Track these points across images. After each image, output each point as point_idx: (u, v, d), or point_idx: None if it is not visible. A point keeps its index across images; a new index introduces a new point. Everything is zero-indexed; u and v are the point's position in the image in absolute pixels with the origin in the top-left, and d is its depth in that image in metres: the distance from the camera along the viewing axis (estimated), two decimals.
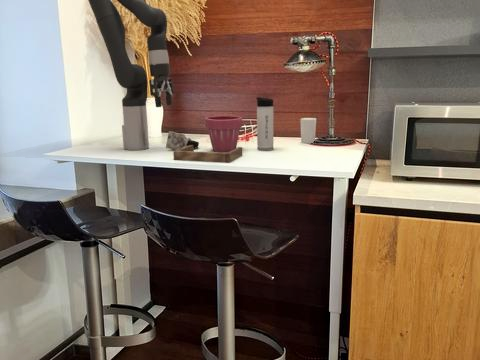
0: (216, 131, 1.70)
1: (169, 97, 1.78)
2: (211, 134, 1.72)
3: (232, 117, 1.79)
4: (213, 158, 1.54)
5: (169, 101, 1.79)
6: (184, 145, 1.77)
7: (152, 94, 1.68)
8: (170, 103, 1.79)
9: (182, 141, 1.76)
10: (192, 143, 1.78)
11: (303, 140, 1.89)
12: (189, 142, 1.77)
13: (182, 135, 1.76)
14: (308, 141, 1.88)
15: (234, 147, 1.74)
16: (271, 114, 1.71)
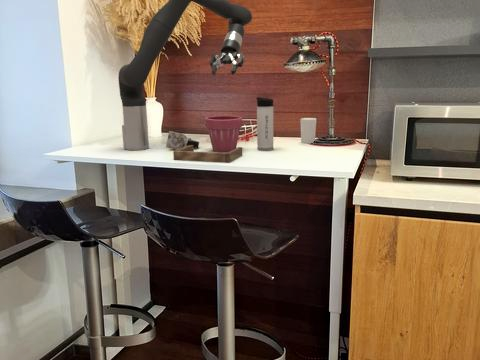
0: (216, 131, 1.70)
1: (216, 69, 1.89)
2: (211, 134, 1.72)
3: (232, 117, 1.79)
4: (213, 158, 1.54)
5: (215, 71, 1.88)
6: (184, 145, 1.77)
7: (241, 63, 1.85)
8: (215, 73, 1.88)
9: (182, 141, 1.77)
10: (192, 143, 1.78)
11: (303, 140, 1.89)
12: (189, 142, 1.78)
13: (182, 135, 1.76)
14: (308, 141, 1.88)
15: (234, 147, 1.74)
16: (271, 114, 1.71)
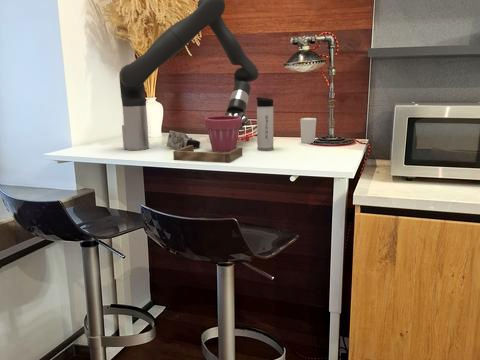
0: (215, 131, 1.69)
1: None
2: (210, 134, 1.71)
3: (231, 117, 1.79)
4: (213, 158, 1.54)
5: None
6: (184, 144, 1.78)
7: None
8: None
9: (182, 140, 1.78)
10: (192, 143, 1.79)
11: (303, 140, 1.89)
12: (189, 142, 1.79)
13: (182, 134, 1.78)
14: (308, 141, 1.88)
15: (234, 147, 1.74)
16: (271, 114, 1.71)
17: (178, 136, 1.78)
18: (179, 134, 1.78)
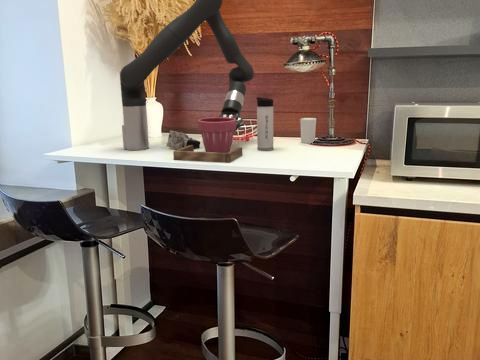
0: (208, 133, 1.63)
1: None
2: (203, 136, 1.66)
3: (227, 119, 1.73)
4: (213, 158, 1.54)
5: None
6: (184, 144, 1.79)
7: None
8: None
9: (182, 140, 1.78)
10: (192, 143, 1.79)
11: (303, 140, 1.88)
12: (189, 141, 1.79)
13: (182, 134, 1.78)
14: (308, 141, 1.88)
15: (227, 150, 1.68)
16: (271, 114, 1.71)
17: (178, 136, 1.78)
18: (179, 134, 1.78)
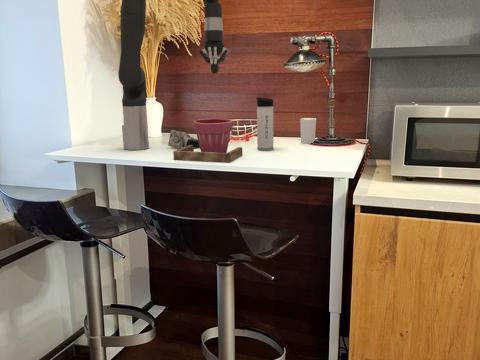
0: (204, 135, 1.59)
1: None
2: (199, 138, 1.62)
3: (223, 120, 1.69)
4: (213, 158, 1.54)
5: None
6: (184, 144, 1.80)
7: (221, 61, 1.86)
8: None
9: (182, 140, 1.79)
10: (192, 142, 1.80)
11: (303, 140, 1.88)
12: (189, 141, 1.80)
13: (182, 134, 1.79)
14: (308, 141, 1.88)
15: (224, 152, 1.64)
16: (271, 114, 1.71)
17: (179, 135, 1.80)
18: (180, 133, 1.80)
